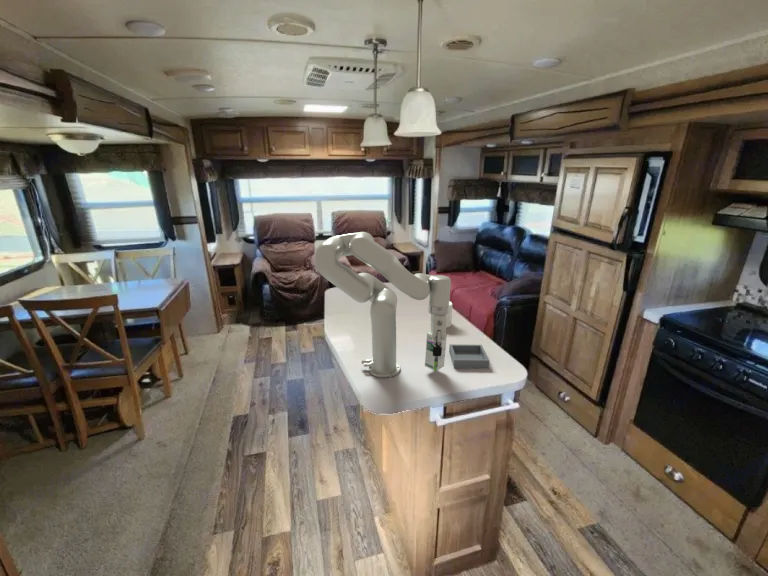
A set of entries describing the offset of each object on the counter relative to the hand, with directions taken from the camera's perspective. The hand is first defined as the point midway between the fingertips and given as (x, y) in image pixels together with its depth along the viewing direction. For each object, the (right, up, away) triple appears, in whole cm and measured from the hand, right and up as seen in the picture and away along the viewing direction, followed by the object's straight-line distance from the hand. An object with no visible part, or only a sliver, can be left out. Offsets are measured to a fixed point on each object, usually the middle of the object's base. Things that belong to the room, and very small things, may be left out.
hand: (435, 350), depth 136 cm
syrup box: (0, -7, +2) cm, 7 cm away
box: (+15, -6, +12) cm, 20 cm away
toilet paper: (+10, +5, +48) cm, 50 cm away
